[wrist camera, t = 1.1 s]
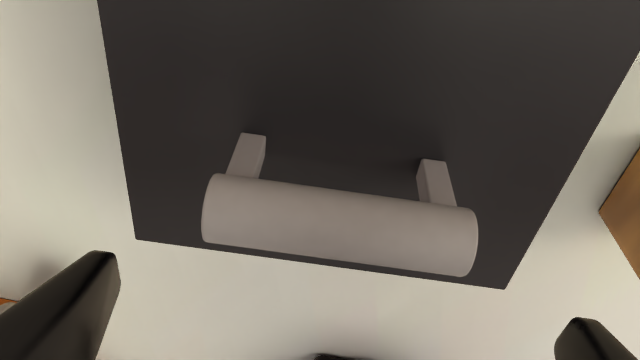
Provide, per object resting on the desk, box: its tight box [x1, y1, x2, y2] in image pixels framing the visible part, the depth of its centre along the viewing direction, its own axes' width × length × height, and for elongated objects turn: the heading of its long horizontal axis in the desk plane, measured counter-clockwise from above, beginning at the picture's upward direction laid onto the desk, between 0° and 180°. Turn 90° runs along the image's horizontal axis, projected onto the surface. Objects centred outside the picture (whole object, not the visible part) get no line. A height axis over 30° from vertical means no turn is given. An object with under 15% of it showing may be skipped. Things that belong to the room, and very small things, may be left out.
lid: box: [97, 0, 640, 290], centre depth 11 cm, size 13×13×4 cm
